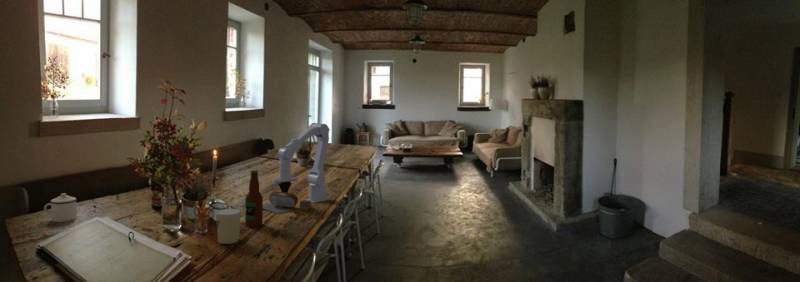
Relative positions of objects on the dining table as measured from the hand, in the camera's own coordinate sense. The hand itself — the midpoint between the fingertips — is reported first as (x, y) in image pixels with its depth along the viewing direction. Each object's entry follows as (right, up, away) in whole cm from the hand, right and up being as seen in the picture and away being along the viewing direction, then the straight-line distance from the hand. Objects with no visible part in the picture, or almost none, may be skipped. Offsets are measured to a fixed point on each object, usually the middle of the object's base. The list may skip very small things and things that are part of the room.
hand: (284, 196), depth 223 cm
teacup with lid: (-89, -6, -36) cm, 97 cm away
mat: (-4, -6, -4) cm, 9 cm away
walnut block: (+11, -7, 0) cm, 13 cm away
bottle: (-5, -9, -32) cm, 34 cm away
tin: (0, -5, 0) cm, 5 cm away
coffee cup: (-8, -11, -53) cm, 54 cm away
